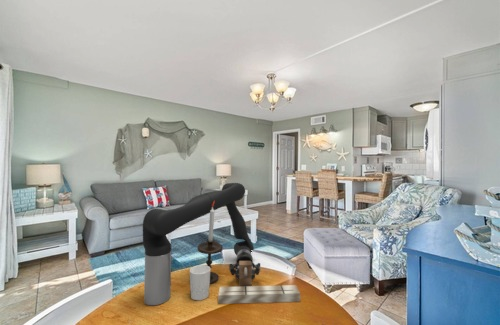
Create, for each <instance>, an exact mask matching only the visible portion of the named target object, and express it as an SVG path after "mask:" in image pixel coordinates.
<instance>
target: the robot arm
mask: <svg viewBox="0 0 500 325" xmlns="http://www.w3.org/2000/svg"><path fill="white" fill-rule="evenodd" d="M245 194H246V188H245V186H244V185H243V184H242V183H239V182H230V183H229V182H228V183H225V184H223V186H222V188H221V190H213V191H209V192H205V193H204V192H203V193H201V194H199V195H196V196H194V197H192V198H190V200H188V201H187V203H185V204H184V205H181V206H179V207H177V208H172V209H167V210H166V209H160V208H153V209H150V210H149V211H147V213H146V214H145V215H144V216H143V222H142V244H143V248H144V285H143V286H144V288H143V289H144V290H143V303H144V304H145V305H147V306H158V305H162V304H165V303H166V302H168V301H169V300H170V299H171V286H172V282H171V281H172V242H170V240H169V238H168V237H167V235H169V234H171V233H173V232H174V231H176V230H178V229H179V228H181V227H183V226H184V225H186V224H188V223H190V222H192V221H194V220H197V219H199V218H201V217H204V216H206V215H208V214H210V210H211V209H212V204H213V202H214V200H215V203H214V206H213V210H214V211H216V210H219V209H221V208H222V207H224V206H225V207H226V209H227V212H228V215H229V218H230V220H231V225H232V232H233V234H234V235H233V236H234V238H235V239H236V240H242V241H237V242H235V243H234V244H233V252H234V253H235V255H236V257H235V258H236V259H235V261H236V262H235V264H233V263H229V264H228V265H229V266H228V267H229V268H228V269H229V272H230V274H231V276H235V279H237V280H238V281H239V261H251V262H252V280H254V279H256V275H257V276H259V275H260V272H261V263H260V262H258V263H256V264H255V263H254V259H253V255H252V253H253V252H252V251H251V250H253V251H254V248H255V247H254V244H253V242H252V240H251V238H250V236H249V234H248V229H247V225H246V221H245V219H244V217H243V215H242V213H241V212H240V210H239V208H237V205H236V202H238V201H240V200H242V199H243V198H244V196H245ZM251 252H252V253H251Z"/></svg>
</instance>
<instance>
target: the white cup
mask: <svg viewBox="0 0 500 325" xmlns="http://www.w3.org/2000/svg"><path fill="white" fill-rule="evenodd" d="M210 272H211V269H210V267H209V266H207V264H206V265H204V264H199V265H195V266H193V267H191V268H189V284H190V285H189V287H190V299H192V300H194V301H202V300H205V299H206V298H208V297H209V294H210V285H211V284H210Z"/></svg>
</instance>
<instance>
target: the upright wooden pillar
mask: <svg viewBox="0 0 500 325" xmlns="http://www.w3.org/2000/svg"><path fill="white" fill-rule="evenodd" d="M252 284H253V279H252V262H251V261H239V280H238V286H253V285H252Z"/></svg>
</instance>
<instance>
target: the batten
mask: <svg viewBox="0 0 500 325" xmlns="http://www.w3.org/2000/svg"><path fill="white" fill-rule="evenodd" d="M217 295H218V296H217V297H218V298H217V302H218V305H225V304H226V305H227V304H228V305H229V304H258V303H259V304H261V303H262V304H263V303H267V304H268V303H270V304H271V303H297V302H299V303H300V302H301V292H300V290H299V288H298V286H297V285H296V284H293V285H292V284H291V285H289V284H287V285H286V284H284V285H282V284H281V285H280V284H279V285H252V286H239V285H238V286H219V290H218V294H217Z"/></svg>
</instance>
